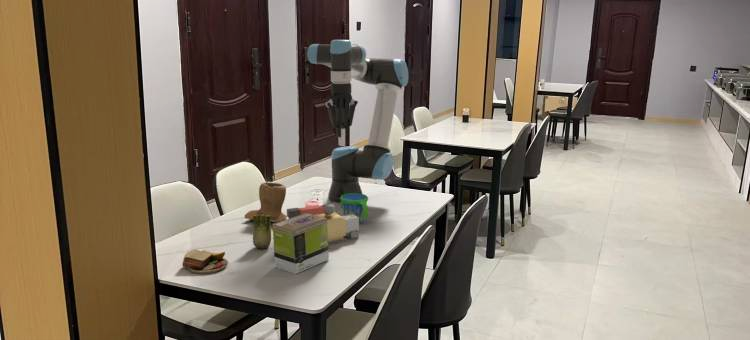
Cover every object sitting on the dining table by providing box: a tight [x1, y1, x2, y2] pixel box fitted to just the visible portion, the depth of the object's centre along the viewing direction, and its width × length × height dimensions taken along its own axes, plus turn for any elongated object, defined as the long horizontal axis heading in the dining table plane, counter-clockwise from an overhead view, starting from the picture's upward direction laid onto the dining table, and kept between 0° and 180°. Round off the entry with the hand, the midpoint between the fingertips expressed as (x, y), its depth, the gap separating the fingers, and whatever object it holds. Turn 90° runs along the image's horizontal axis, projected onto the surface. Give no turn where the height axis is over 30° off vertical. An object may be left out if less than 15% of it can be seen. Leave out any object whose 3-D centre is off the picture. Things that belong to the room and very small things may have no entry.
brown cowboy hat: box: [243, 181, 288, 223], centre depth 234 cm, size 15×12×15 cm
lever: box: [286, 203, 335, 219], centre depth 208 cm, size 17×4×3 cm, turn 113°
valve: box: [316, 211, 360, 245], centre depth 212 cm, size 7×22×10 cm, turn 121°
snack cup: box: [339, 193, 369, 225], centre depth 233 cm, size 16×10×10 cm
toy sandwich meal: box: [181, 249, 229, 275], centre depth 190 cm, size 12×14×5 cm
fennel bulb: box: [252, 215, 272, 250], centre depth 205 cm, size 6×5×12 cm
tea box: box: [272, 213, 330, 275], centre depth 191 cm, size 15×10×15 cm, turn 141°
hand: (341, 145), depth 227 cm, fingers closed
